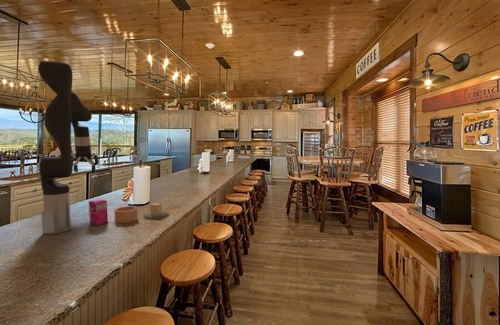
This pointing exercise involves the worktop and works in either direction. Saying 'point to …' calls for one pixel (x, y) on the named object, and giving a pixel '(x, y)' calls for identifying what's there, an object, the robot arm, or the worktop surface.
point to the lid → (156, 212)
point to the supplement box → (98, 212)
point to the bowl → (125, 214)
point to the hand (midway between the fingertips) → (85, 171)
